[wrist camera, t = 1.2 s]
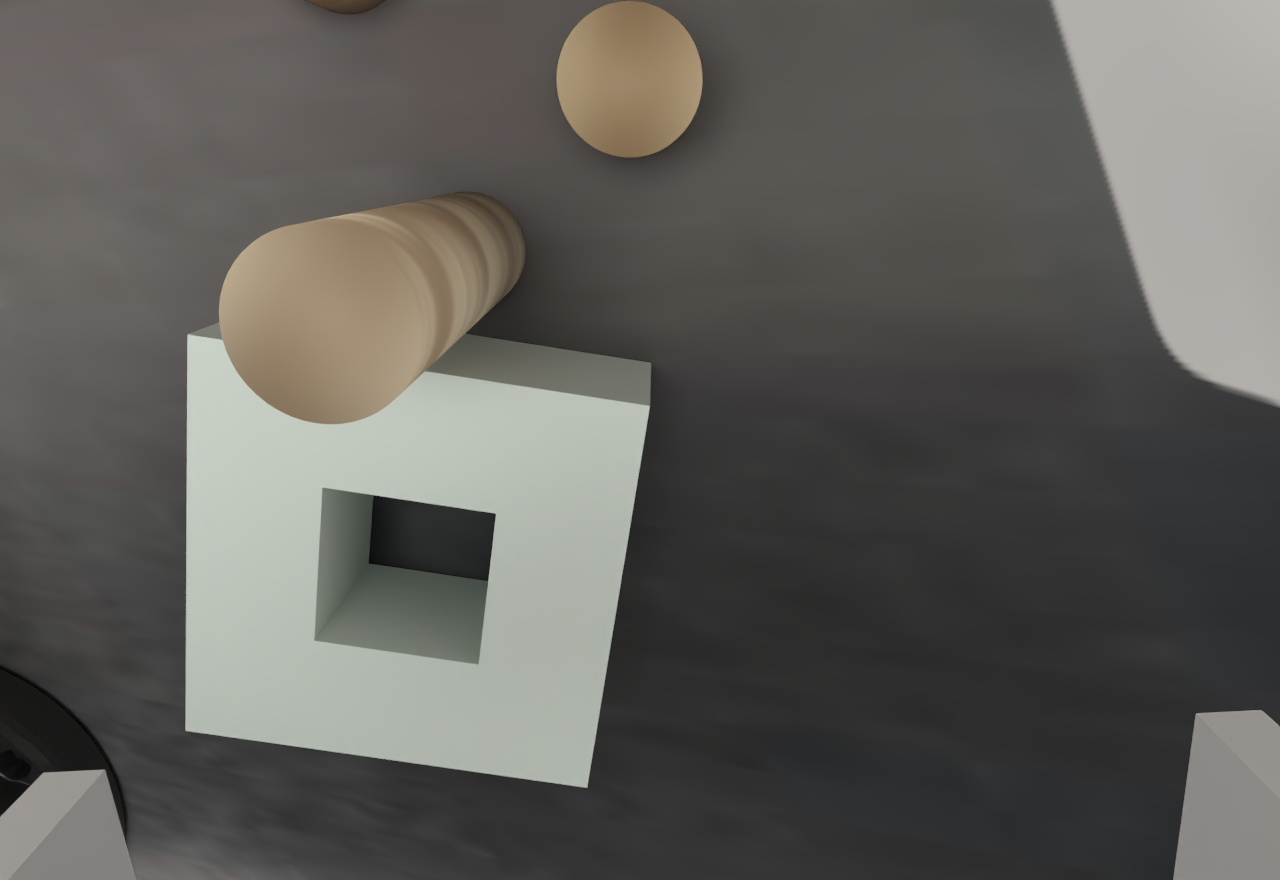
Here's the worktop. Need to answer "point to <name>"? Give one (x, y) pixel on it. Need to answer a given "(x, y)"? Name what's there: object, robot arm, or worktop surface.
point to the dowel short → (347, 5)
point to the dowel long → (364, 301)
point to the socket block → (402, 598)
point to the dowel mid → (629, 79)
